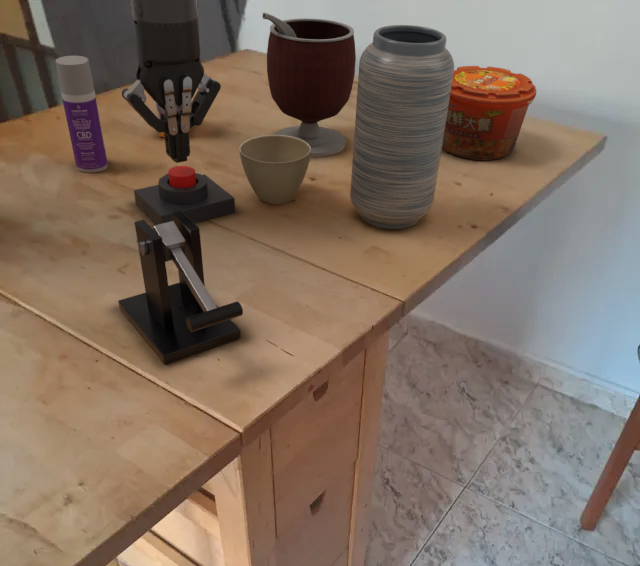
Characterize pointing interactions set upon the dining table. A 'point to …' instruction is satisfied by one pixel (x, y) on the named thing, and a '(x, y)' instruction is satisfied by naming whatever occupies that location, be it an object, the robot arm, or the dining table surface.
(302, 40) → the mate gourd
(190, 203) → the button box
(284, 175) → the flower pot
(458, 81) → the food container
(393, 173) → the vase
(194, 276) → the lever
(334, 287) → the dining table surface
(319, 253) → the dining table surface
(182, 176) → the button
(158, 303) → the bracket
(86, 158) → the container
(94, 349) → the dining table surface
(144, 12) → the robot arm
